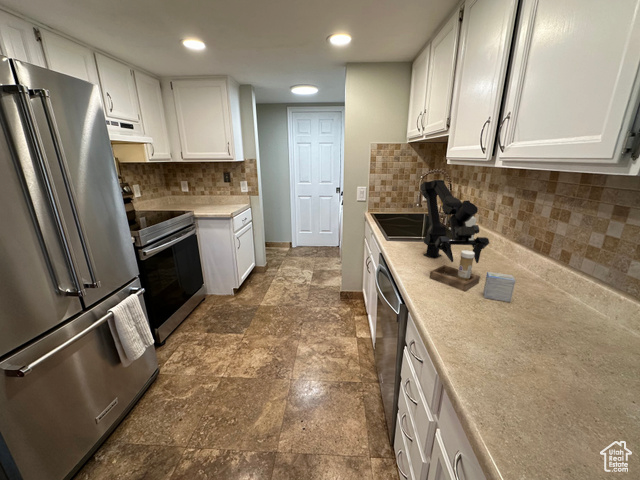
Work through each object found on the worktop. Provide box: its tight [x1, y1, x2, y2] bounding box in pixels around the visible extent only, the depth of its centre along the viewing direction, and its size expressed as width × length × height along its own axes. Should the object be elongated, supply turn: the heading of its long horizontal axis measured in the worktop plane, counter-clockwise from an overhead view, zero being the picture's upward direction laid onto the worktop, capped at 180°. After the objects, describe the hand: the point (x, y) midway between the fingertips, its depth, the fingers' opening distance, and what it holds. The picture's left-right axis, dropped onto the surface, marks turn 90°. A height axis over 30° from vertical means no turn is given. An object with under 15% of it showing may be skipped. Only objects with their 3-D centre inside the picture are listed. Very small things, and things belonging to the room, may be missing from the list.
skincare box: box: [465, 216, 477, 240], centre depth 151 cm, size 8×7×16 cm
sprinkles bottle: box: [456, 249, 475, 281], centre depth 103 cm, size 5×5×13 cm
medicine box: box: [482, 271, 516, 303], centre depth 93 cm, size 8×4×9 cm, turn 65°
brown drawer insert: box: [429, 264, 481, 292], centre depth 107 cm, size 15×11×3 cm
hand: (464, 262), depth 102 cm, fingers open, 9 cm apart
